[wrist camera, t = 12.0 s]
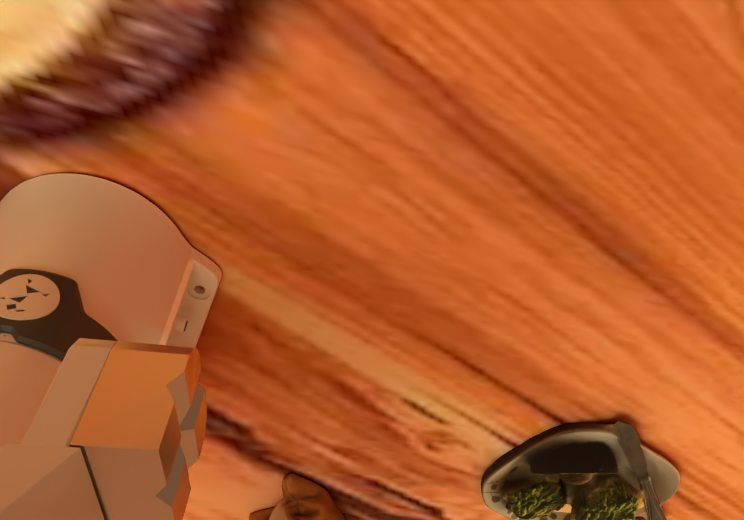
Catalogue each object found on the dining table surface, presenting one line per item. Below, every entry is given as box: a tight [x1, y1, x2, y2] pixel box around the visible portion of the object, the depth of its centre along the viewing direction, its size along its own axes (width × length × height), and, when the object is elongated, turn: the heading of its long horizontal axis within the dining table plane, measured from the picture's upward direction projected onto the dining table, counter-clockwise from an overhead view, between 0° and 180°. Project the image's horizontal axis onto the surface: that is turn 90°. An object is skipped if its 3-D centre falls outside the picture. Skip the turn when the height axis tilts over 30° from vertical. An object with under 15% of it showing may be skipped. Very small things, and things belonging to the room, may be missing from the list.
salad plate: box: [481, 421, 680, 520], centre depth 68 cm, size 19×18×5 cm
